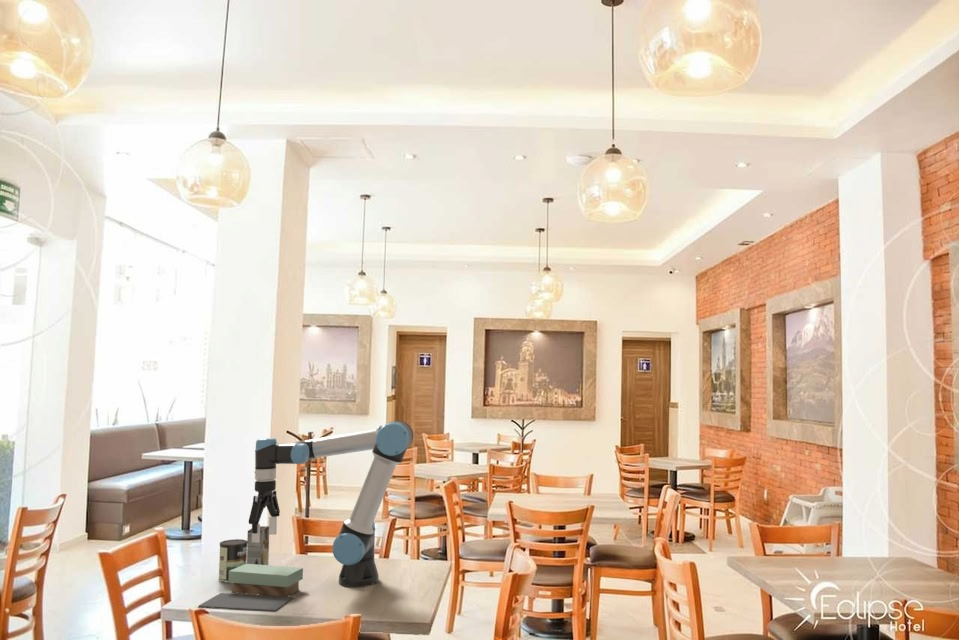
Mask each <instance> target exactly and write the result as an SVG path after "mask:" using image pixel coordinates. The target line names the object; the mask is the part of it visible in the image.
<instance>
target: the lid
mask: <svg viewBox="0 0 959 640" xmlns="http://www.w3.org/2000/svg"><path fill="white" fill-rule="evenodd" d="M303 573H304V568H303V567H295V566H282V565H270V564H268V565H258V564H247V563H246V564H244V565H242V566H239V567H237V568H235V569H232V570H230V571H229V578H228V582H227V583H231V584H232V583H242V584H254V585H266V586H278V587H289V586H291V585H292V584H294V583H296V582H298V581H299V582H300V581H302V580H303V578H304V577H303V576H304V575H303Z"/></svg>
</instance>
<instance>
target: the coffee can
mask: <svg viewBox="0 0 959 640" xmlns="http://www.w3.org/2000/svg"><path fill="white" fill-rule="evenodd" d="M247 542H248V541H247V539H239V538H237V539H235V538H234V539H227V540H223V541H220V542H219V560H218V561H219V563H218V566H219V567H218V581H219V580H220V581H219V582H221V581H227V582H226V583H229V582H228V578H229V571H230V570H232V569H235V568H237V567H239V566H242V565H244V564H247Z"/></svg>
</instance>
